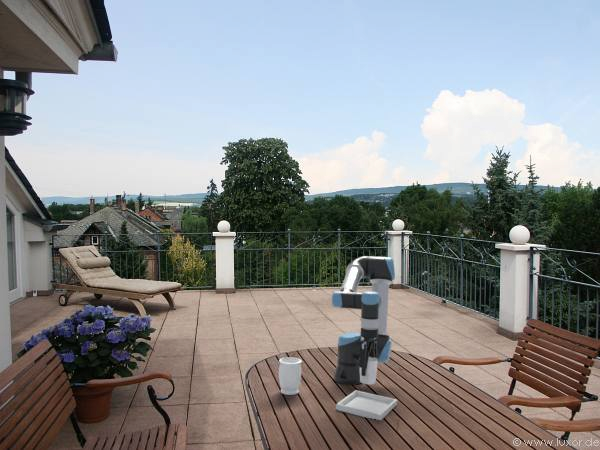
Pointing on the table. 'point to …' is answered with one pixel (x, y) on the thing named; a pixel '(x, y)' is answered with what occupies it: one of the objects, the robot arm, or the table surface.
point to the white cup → (371, 370)
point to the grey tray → (366, 405)
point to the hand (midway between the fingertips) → (367, 380)
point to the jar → (289, 375)
